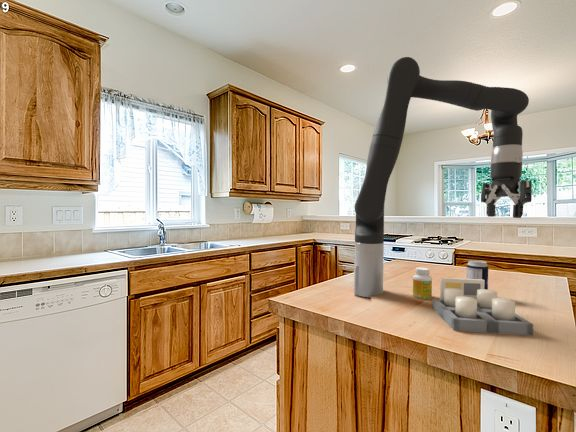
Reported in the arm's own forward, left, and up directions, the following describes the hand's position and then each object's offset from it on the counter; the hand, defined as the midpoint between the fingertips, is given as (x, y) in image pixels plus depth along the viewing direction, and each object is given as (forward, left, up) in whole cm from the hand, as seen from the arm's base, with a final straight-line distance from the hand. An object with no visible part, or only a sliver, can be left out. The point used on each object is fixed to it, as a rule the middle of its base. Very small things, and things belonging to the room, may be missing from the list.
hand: (503, 217), depth 91 cm
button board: (-14, -18, -26) cm, 35 cm away
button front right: (-10, -22, -23) cm, 33 cm away
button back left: (-18, -14, -23) cm, 32 cm away
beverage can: (-5, +4, -26) cm, 27 cm away
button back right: (-10, -14, -23) cm, 29 cm away
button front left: (-18, -22, -23) cm, 37 cm away
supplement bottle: (-22, +1, -26) cm, 34 cm away
